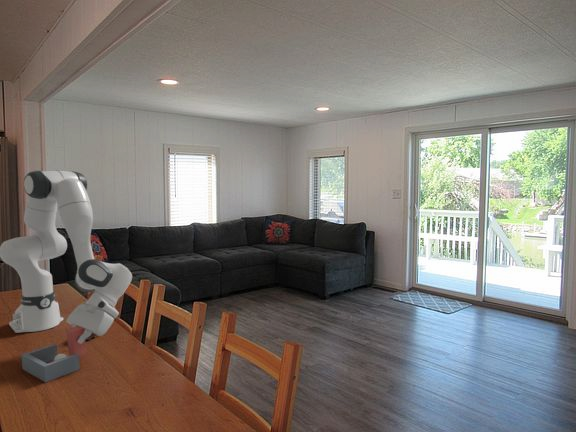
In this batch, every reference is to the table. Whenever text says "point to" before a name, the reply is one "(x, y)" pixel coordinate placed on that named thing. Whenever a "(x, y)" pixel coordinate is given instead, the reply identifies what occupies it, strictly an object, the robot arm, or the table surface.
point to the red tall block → (72, 344)
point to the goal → (46, 372)
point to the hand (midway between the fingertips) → (74, 341)
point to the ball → (59, 357)
